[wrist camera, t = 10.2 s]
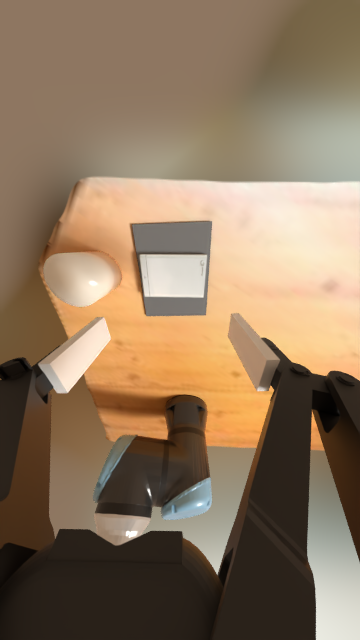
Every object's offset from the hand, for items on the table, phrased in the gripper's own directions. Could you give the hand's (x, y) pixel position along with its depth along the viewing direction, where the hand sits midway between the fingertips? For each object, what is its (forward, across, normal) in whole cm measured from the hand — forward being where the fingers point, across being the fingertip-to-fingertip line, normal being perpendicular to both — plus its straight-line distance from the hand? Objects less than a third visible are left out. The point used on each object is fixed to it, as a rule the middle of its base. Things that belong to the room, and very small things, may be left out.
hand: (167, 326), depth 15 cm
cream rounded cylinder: (+17, +15, -4) cm, 23 cm away
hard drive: (+17, 0, -2) cm, 17 cm away
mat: (+17, 0, -2) cm, 17 cm away
